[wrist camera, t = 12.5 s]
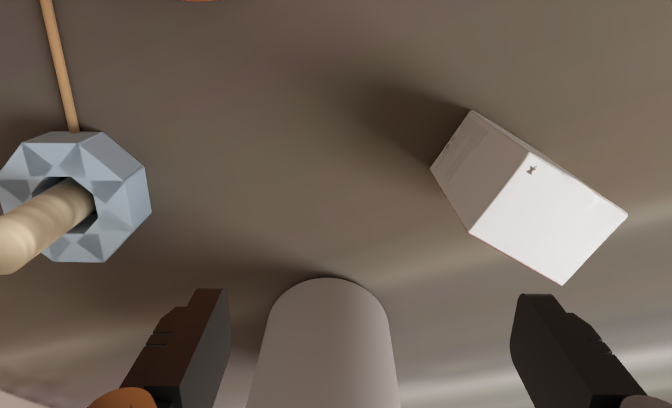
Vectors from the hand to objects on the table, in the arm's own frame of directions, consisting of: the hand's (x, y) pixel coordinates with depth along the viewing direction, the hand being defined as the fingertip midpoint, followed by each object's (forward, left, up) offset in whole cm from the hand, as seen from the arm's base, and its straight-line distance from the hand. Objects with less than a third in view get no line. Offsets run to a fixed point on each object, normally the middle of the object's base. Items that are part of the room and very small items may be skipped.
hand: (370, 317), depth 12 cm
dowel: (+7, -24, -28) cm, 38 cm away
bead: (+7, -24, -28) cm, 38 cm away
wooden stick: (-6, -24, -28) cm, 38 cm away
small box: (+4, +12, -28) cm, 31 cm away
